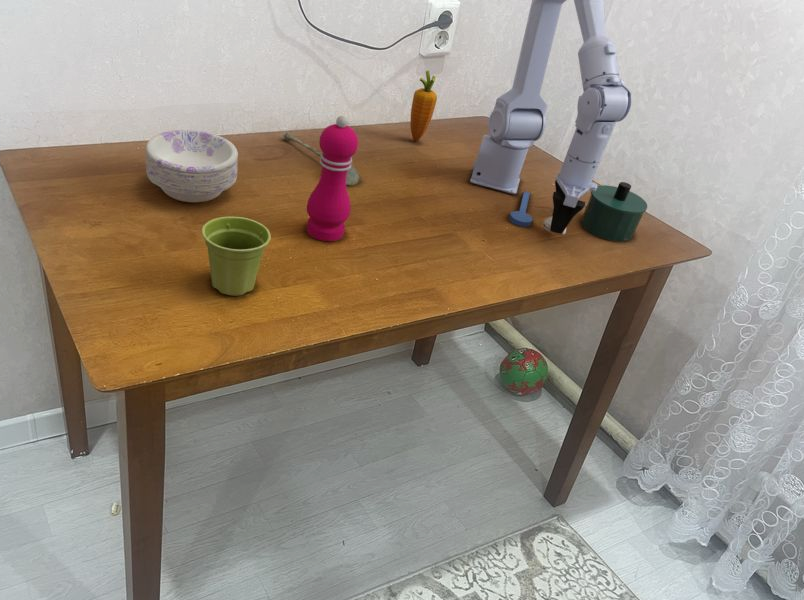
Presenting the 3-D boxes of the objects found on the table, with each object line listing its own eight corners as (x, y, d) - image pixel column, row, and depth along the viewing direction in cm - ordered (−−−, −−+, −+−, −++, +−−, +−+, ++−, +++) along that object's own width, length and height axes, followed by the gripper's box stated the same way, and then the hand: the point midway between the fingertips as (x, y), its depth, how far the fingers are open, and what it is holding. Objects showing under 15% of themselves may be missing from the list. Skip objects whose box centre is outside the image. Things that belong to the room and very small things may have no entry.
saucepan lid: (589, 207, 131) (597, 188, 128) (590, 185, 139) (597, 167, 136) (646, 222, 129) (655, 203, 127) (644, 199, 137) (652, 181, 135)
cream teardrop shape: (556, 225, 133) (560, 213, 132) (571, 239, 130) (576, 227, 128) (537, 226, 132) (541, 214, 130) (552, 240, 128) (556, 228, 127)
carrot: (425, 148, 155) (441, 78, 145) (402, 143, 155) (417, 73, 146) (427, 140, 159) (443, 72, 149) (405, 135, 159) (420, 66, 150)
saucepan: (580, 232, 134) (592, 204, 130) (582, 210, 142) (593, 183, 138) (632, 246, 133) (645, 218, 129) (631, 224, 140) (643, 197, 137)
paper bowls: (157, 214, 116) (157, 169, 111) (138, 172, 126) (137, 129, 121) (247, 208, 122) (250, 165, 117) (221, 169, 132) (223, 127, 127)
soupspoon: (338, 191, 134) (364, 187, 138) (341, 175, 132) (368, 171, 135) (273, 140, 145) (299, 137, 149) (275, 124, 143) (301, 122, 147)
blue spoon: (507, 222, 133) (509, 218, 132) (515, 192, 144) (517, 187, 143) (529, 228, 132) (531, 224, 131) (536, 197, 143) (537, 193, 143)
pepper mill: (351, 229, 122) (372, 115, 109) (337, 247, 116) (357, 129, 104) (312, 217, 123) (328, 103, 111) (297, 235, 118) (312, 117, 105)
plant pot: (202, 264, 107) (204, 212, 101) (265, 269, 108) (270, 219, 103) (197, 300, 99) (199, 246, 94) (265, 305, 101) (270, 253, 95)
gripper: (607, 178, 115) (577, 250, 124) (607, 147, 127) (579, 215, 135) (564, 166, 116) (537, 238, 125) (568, 137, 128) (543, 205, 136)
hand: (556, 225), depth 130 cm, fingers closed on cream teardrop shape, 4 cm apart
